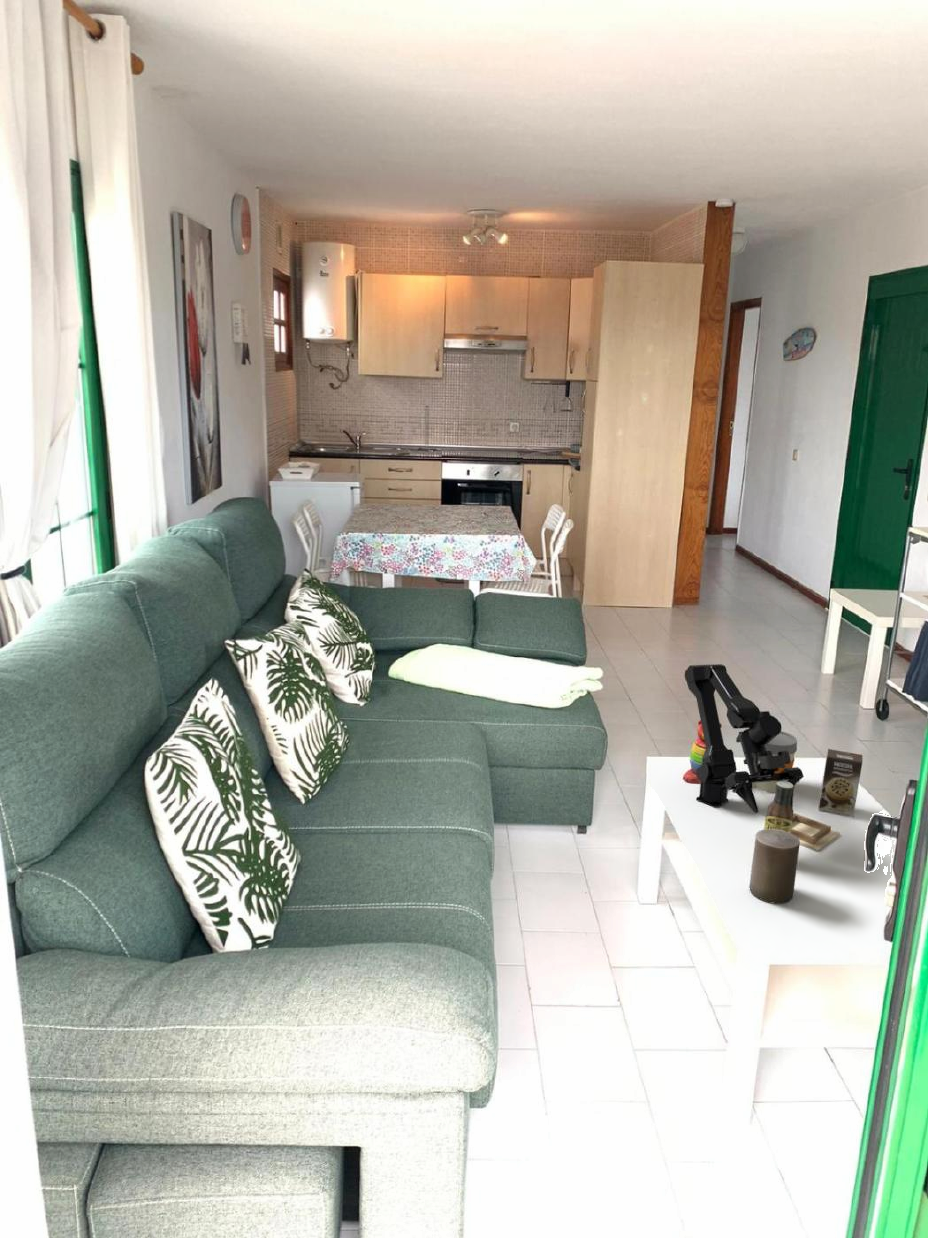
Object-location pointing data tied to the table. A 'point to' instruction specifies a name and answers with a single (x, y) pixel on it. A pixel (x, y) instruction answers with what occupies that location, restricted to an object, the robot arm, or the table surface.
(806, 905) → the table surface
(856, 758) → the cookie box
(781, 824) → the sauce bottle
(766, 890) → the pillar candle
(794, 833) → the cradle
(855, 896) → the table surface
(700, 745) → the stacking bear
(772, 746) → the reusable coffee cup
